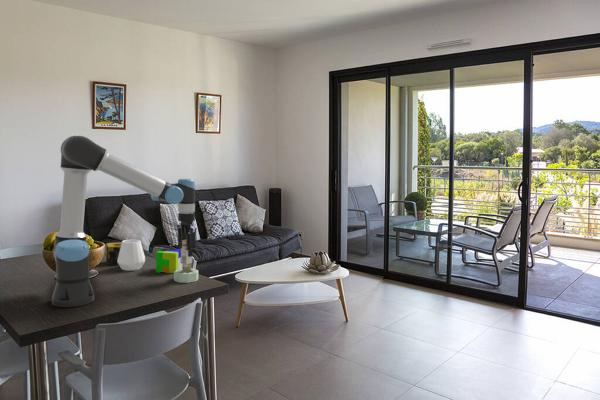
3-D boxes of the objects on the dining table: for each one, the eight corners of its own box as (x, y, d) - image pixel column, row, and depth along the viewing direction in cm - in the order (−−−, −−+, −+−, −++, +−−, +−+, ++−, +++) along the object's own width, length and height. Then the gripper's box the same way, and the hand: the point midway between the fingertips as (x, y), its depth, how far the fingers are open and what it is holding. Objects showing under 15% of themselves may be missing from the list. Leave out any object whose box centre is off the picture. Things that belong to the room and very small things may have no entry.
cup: (150, 266, 245) (150, 239, 243) (135, 272, 232) (134, 244, 231) (128, 264, 248) (127, 237, 247) (111, 270, 236) (111, 242, 234)
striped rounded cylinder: (185, 271, 219) (185, 241, 218) (180, 269, 222) (180, 240, 221) (192, 270, 222) (192, 240, 221) (188, 268, 225) (188, 239, 224)
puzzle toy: (182, 268, 243) (183, 249, 242) (175, 273, 233) (175, 253, 232) (163, 267, 244) (163, 248, 243) (156, 272, 234) (156, 252, 233)
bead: (182, 283, 215) (182, 275, 215) (170, 279, 223) (170, 270, 222) (201, 280, 222) (202, 271, 222) (190, 275, 230) (190, 267, 229)
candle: (106, 261, 253) (105, 243, 252) (126, 260, 257) (126, 242, 256) (107, 266, 244) (106, 246, 242) (128, 264, 248) (128, 245, 247)
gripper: (203, 213, 216) (203, 264, 218) (184, 209, 228) (184, 257, 230) (189, 215, 211) (189, 267, 213) (170, 210, 223) (170, 260, 225)
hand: (186, 262), depth 222 cm, fingers closed on striped rounded cylinder, 4 cm apart
